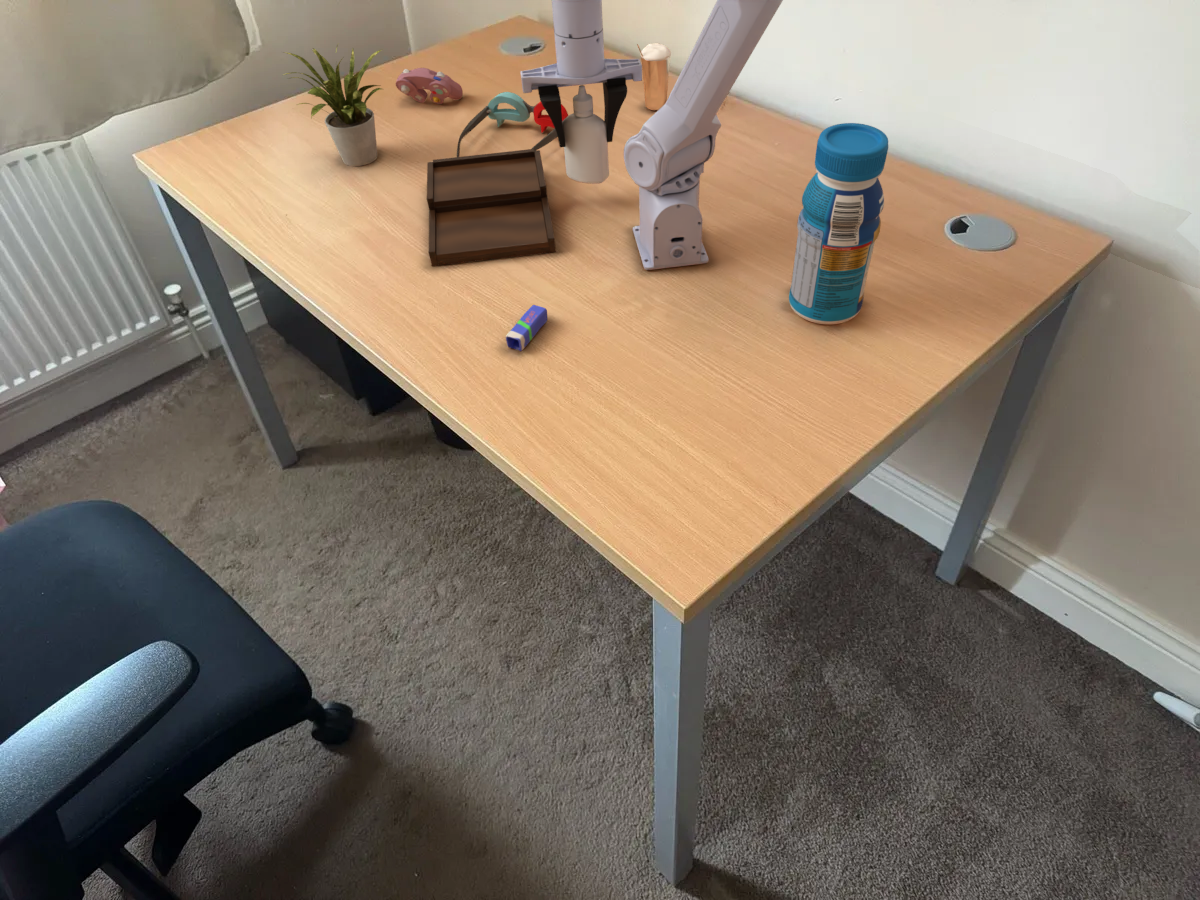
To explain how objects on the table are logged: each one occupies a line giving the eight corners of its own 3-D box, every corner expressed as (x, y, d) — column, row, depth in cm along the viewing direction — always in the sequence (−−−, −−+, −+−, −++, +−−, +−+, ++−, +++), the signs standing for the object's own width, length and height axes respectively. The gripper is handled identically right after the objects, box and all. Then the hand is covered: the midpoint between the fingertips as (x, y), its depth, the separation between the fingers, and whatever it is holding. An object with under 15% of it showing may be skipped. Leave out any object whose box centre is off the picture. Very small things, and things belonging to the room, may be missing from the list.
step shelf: (555, 252, 107) (553, 224, 104) (431, 266, 106) (425, 238, 103) (542, 174, 120) (539, 147, 118) (432, 186, 120) (426, 160, 117)
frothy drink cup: (631, 104, 134) (630, 39, 127) (661, 97, 136) (662, 31, 128) (644, 116, 131) (644, 49, 124) (675, 108, 133) (676, 41, 125)
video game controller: (404, 110, 141) (387, 80, 134) (412, 87, 142) (396, 56, 135) (459, 115, 138) (444, 85, 132) (466, 92, 140) (452, 61, 133)
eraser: (506, 348, 94) (504, 334, 93) (534, 318, 98) (532, 303, 96) (521, 353, 93) (519, 338, 92) (549, 322, 97) (547, 308, 95)
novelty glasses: (575, 132, 129) (572, 100, 125) (529, 179, 120) (525, 145, 116) (495, 119, 133) (491, 87, 130) (445, 163, 124) (439, 130, 121)
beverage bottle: (771, 306, 97) (791, 139, 82) (815, 274, 101) (842, 109, 86) (834, 337, 93) (866, 167, 78) (877, 302, 96) (916, 134, 82)
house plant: (285, 178, 123) (246, 64, 111) (328, 134, 132) (296, 24, 121) (375, 186, 120) (345, 69, 109) (412, 140, 130) (388, 28, 118)
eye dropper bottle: (589, 163, 114) (583, 74, 106) (613, 179, 111) (609, 88, 102) (562, 174, 113) (554, 84, 104) (586, 191, 109) (579, 99, 101)
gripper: (634, 10, 102) (636, 121, 111) (514, 23, 101) (527, 132, 111) (644, 32, 97) (645, 145, 107) (518, 45, 96) (531, 158, 106)
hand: (585, 141), depth 108 cm, fingers closed on eye dropper bottle, 5 cm apart
